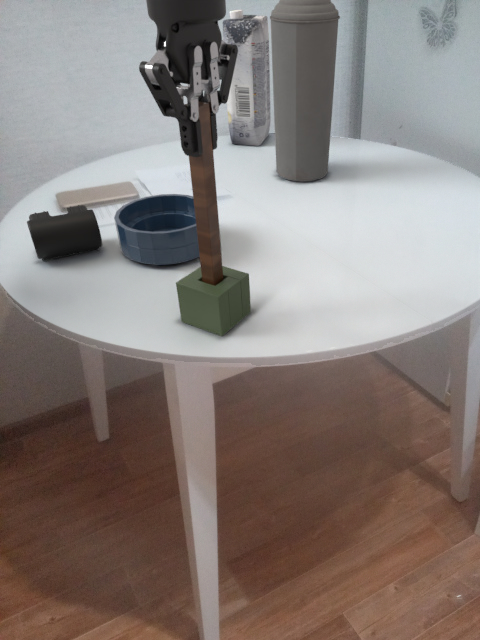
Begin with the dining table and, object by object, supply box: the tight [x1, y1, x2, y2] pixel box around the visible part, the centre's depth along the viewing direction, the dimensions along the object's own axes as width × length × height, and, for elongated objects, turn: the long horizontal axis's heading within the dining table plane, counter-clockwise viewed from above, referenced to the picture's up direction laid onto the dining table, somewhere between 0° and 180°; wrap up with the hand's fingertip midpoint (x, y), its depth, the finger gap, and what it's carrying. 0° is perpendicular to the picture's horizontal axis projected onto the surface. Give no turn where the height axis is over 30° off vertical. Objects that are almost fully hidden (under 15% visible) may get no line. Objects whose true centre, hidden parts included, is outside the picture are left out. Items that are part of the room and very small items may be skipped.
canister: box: [269, 0, 341, 182], centre depth 108 cm, size 13×13×35 cm
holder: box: [175, 265, 252, 337], centre depth 74 cm, size 7×7×6 cm
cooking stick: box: [184, 101, 224, 286], centre depth 66 cm, size 2×2×22 cm
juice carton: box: [222, 9, 271, 147], centre depth 129 cm, size 9×10×27 cm
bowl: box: [113, 193, 200, 266], centre depth 91 cm, size 15×15×6 cm
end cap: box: [26, 204, 103, 262], centre depth 89 cm, size 10×7×7 cm
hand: (200, 151), depth 62 cm, fingers closed on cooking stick, 2 cm apart
